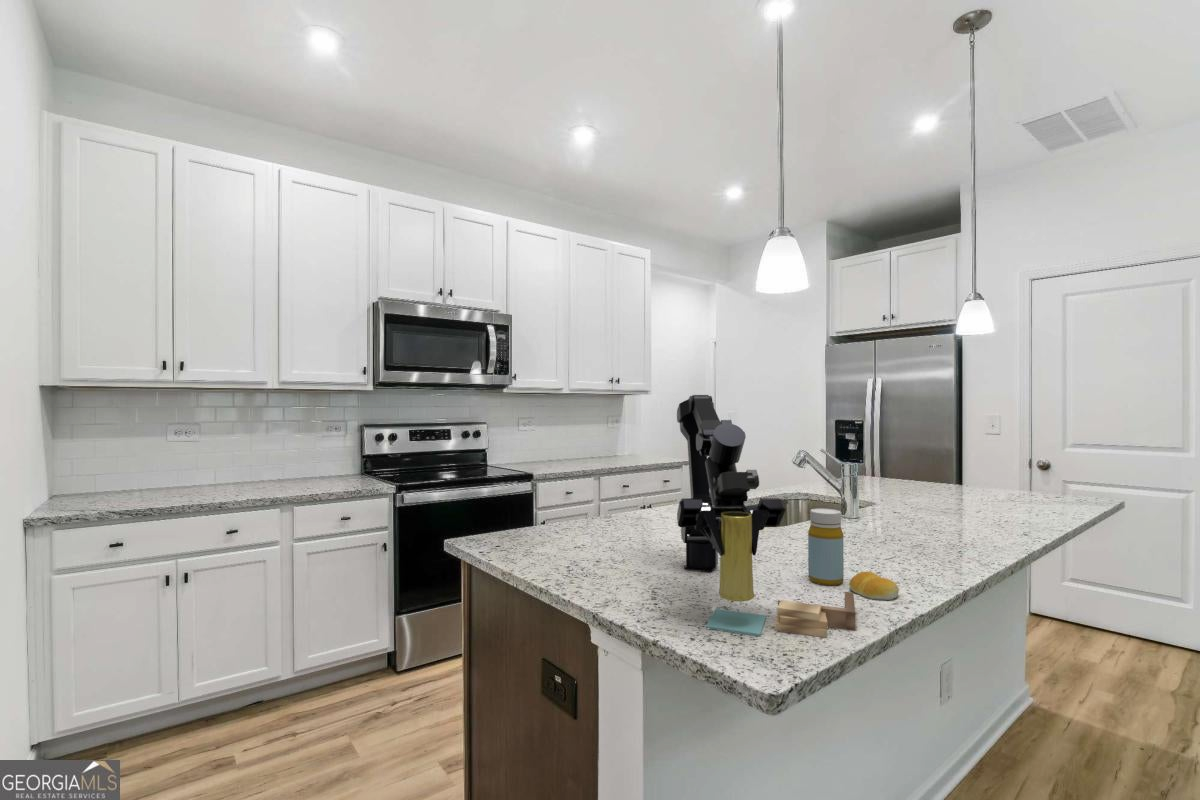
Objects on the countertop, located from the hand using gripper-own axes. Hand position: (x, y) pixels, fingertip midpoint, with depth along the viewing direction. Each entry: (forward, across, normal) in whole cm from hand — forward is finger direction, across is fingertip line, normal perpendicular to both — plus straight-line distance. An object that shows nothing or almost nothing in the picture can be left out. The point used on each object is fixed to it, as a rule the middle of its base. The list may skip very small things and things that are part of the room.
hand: (738, 554), depth 100 cm
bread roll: (-2, +31, +21) cm, 38 cm away
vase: (+5, 0, +6) cm, 8 cm away
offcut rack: (+7, +14, +10) cm, 19 cm away
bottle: (-8, +25, +26) cm, 37 cm away
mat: (+8, 0, +9) cm, 12 cm away
